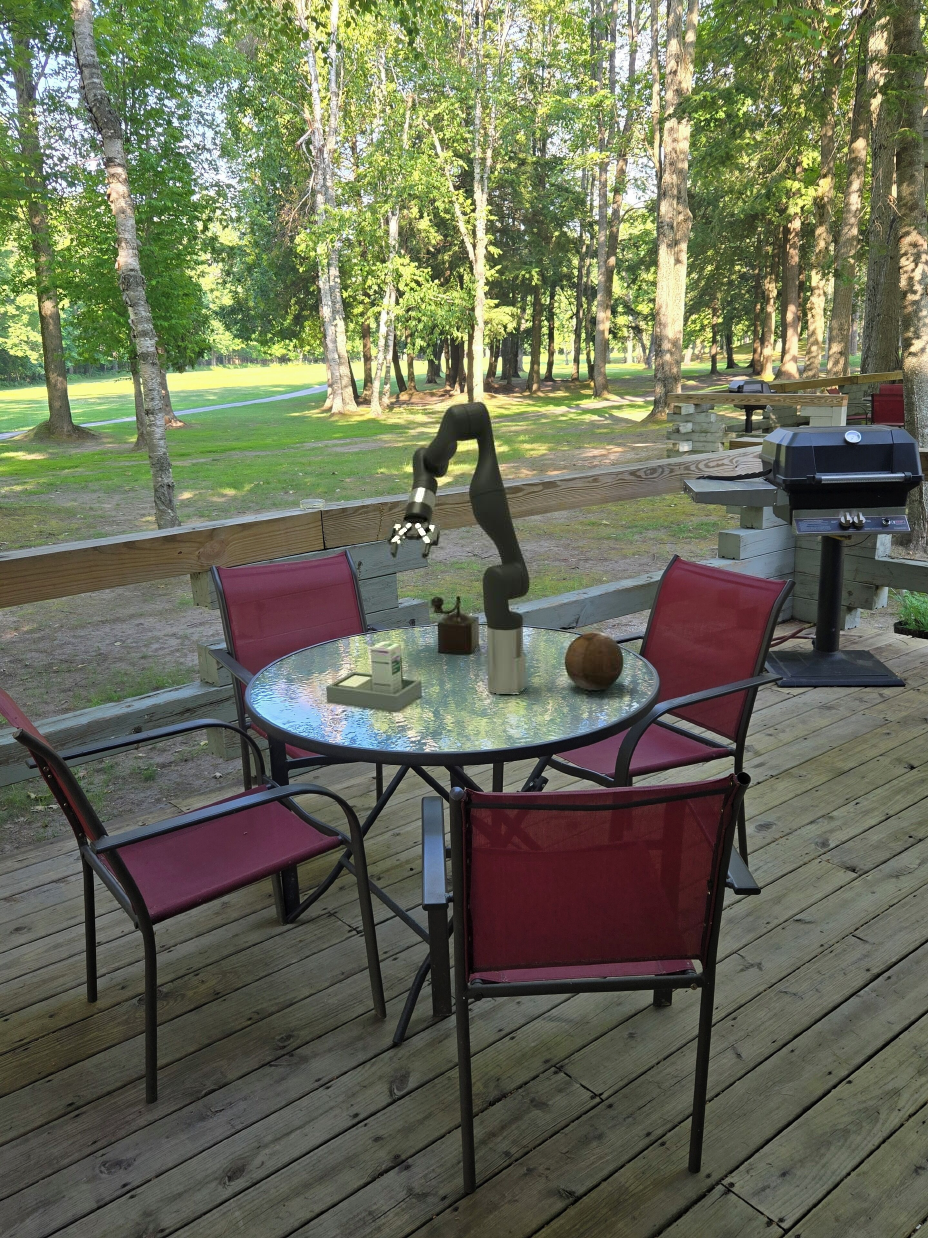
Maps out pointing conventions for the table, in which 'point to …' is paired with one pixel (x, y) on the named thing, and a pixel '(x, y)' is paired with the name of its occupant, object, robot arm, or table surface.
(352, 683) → the cream rectangular block
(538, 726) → the table surface
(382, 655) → the syrup box
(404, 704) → the tray
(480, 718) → the table surface
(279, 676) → the table surface
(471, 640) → the manual coffee grinder
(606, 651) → the wooden sphere
